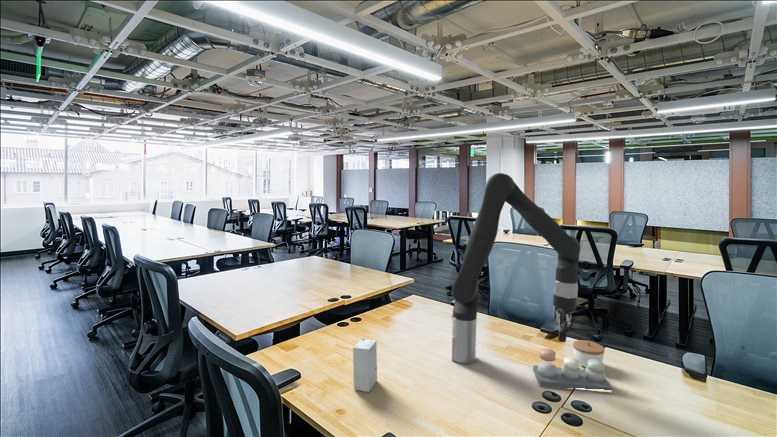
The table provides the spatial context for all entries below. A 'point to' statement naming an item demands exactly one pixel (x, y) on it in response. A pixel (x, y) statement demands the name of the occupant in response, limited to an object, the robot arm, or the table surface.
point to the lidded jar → (587, 351)
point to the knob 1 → (547, 355)
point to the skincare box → (365, 365)
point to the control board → (569, 382)
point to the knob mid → (571, 364)
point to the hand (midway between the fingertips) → (561, 341)
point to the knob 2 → (595, 366)
